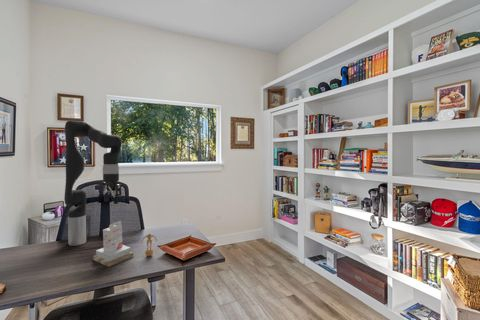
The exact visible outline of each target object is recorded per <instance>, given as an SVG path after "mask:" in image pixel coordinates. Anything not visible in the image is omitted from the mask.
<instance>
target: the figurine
mask: <svg viewBox="0 0 480 320" xmlns="http://www.w3.org/2000/svg"><path fill="white" fill-rule="evenodd" d="M156 237H157V236H155V235H153V234H151V233H148V234H146V235H145V236H143V237H142V239H141V242H140V244H142V243H143V241H144V239H145V238H147V239H146V246H147V248H146V250H145V256H147V257H151V256H152V255H153V254H154V251H153V250H154V249H152V241H153V240H152V238H154V240H155V242H156V243H157V242H158V239H157V238H156ZM149 244H150V245H149Z"/></svg>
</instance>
